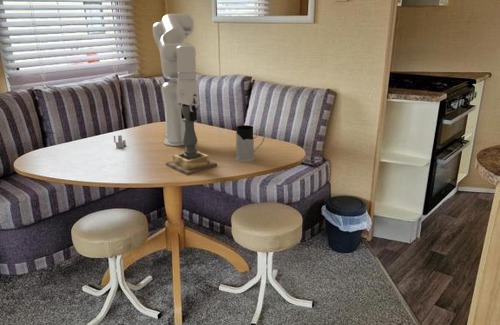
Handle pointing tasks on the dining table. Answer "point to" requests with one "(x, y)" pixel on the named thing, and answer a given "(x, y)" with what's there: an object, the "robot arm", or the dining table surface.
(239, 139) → the grey and black mug
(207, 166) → the socket base
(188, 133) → the candle holder
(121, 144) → the architectural model
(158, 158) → the dining table surface
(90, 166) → the dining table surface
